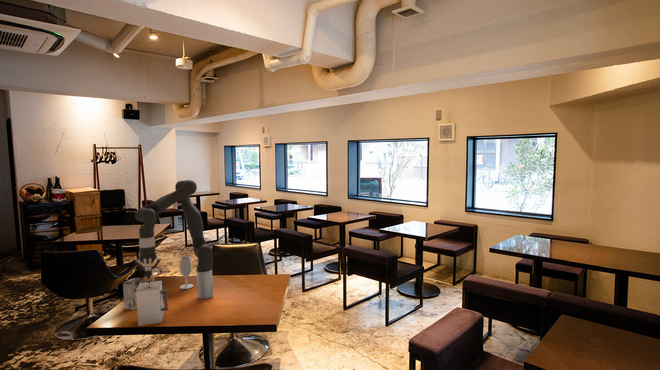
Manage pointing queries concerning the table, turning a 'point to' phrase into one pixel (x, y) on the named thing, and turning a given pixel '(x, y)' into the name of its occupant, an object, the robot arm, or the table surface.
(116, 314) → the table surface
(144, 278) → the brass disc knob
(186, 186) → the robot arm
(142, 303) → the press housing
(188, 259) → the wineglass
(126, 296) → the coffee box
